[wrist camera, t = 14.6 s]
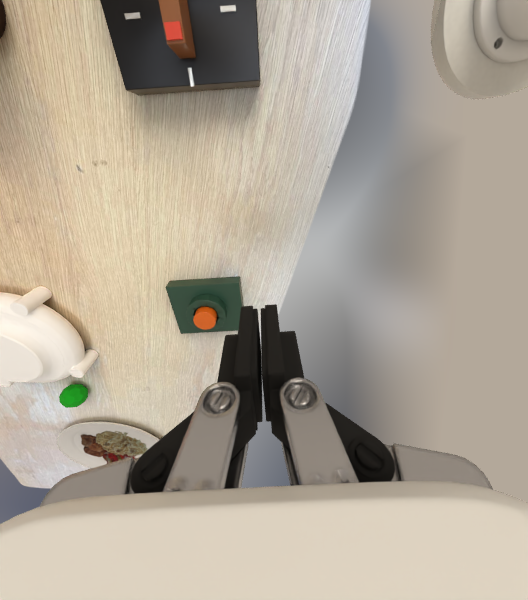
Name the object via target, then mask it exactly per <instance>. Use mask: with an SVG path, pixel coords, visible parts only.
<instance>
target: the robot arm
mask: <svg viewBox="0 0 528 600" xmlns="http://www.w3.org/2000/svg"><path fill="white" fill-rule="evenodd" d="M473 23H474V33H475V36H476V39H477V42H478V45H479V47H480V48H481V50H482V51H483V53H484V54H485V55H486V56H488V57H489V58H490V59H492V60H494V61H497V62H499V63H513V62H518V61H522V60H525V59H528V0H475V1H474V12H473ZM261 351H262V367H261ZM262 380H263V391H264V401H265V412H266V421H271V425H272V433H273V434H274V435H275V436H276V437H277V438H278V439H279V440H280V441H281V443H282V449H283V453H284V458H285V462H286V467H287V471H288V476H289V481H290V485H291V486H277V487H276V486H275V487H254V488H241V485H242V480H243V474H244V468H245V462H246V456H247V450H248V442H249V441H250V439H251V438H252V437H253V436H254V435H255V434H256V430H257V422H262ZM0 600H528V503H527V502H525V501H523V500H520V499H518V498H515V497H513V496H510V495H507V494H505V493H502V492H499V491H496V490H493V489H492V486H491V484H490V482H489V481H488V479H487V478H486V476H485V475H484V473H483V472H482V471H481V470H480V469H479V468H478V467H477V466H476V465H475V464H473V463H472V462H470V461H469V460H467V459H465V458H463V457H460V456H457V455H453V454H448V453H442V452H437V451H431V450H427V449H421V448H416V447H411V446H405V445H399V444H393V446H390V445H385V444H383V443H382V442H381V441H380V440H378V439H377V438H376V437H374V436H373V435H371V434H370V433H368V432H367V431H366V430H364V429H363V428H361V427H360V426H358V425H357V424H355V423H354V422H352V421H351V420H350V419H348V418H347V417H345V416H344V415H342V414H341V413H340V412H338V411H337V410H335V409H334V408H332V407H331V406H329V405H328V404H327V403H325V402H324V399H323V397H322V395H321V393H320V390H319V389H318V387H317V386H316V385H315V384H314V383H313V382H311V381H310V380H308V379H304V375H303V370H302V365H301V360H300V354H299V349H298V344H297V339H296V334H295V331H287V332H280V330H279V322H278V313H277V305H265V308H261V344H260V333H259V322H258V311H257V309H253V306H243V307H241V311H240V321H239V330H238V334H235V335H226V336H225V341H224V346H223V352H222V358H221V364H220V370H219V376H218V381H217V383H215V384H212V385H211V386H209V387H207V388H206V389H205V390H204V391H203V393H202V394H201V396H200V398H199V401H198V403H197V406H196V408H195V411H194V412H193V413H192V414H191V415H190V416H188V417H187V418H186V419H185V420H183V421H182V422H181V423H180V424H179V425H177V426H176V427H175V428H174V429H172V430H171V431H170V432H169V433H168V434H166V435H165V436H164V437H163V438H161V439H160V440H159V441H158V442H156V443H155V444H154V445H153V446H152V447H150V448H149V449H148V450H147V451H146V452H145V453H144V454H143V455H142V456H141V457H139V458H135V459H133V457H129V458H125V459H122V460H119V461H115V462H112V463H108V464H105V465H102V466H98V467H95V468H91V469H88V470H85V471H81V472H78V473H74V474H72V475H69V476H67V477H65V478H63V479H62V480H61V481H59V482H58V483H57V484H55V485H54V486H53V487H52V489H51V490H50V491H49V492H48V493H47V494H46V496H45V498H44V500H43V501H42V503H41V505H40V507H38V508H35V509H33V510H31V511H28V512H25V513H23V514H20V515H18V516H16V517H14V518H12V519H10V520H8V521H6V522H4V523H2V524H0Z"/></svg>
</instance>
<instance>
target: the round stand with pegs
mask: <svg viewBox="0 0 528 600" xmlns="http://www.w3.org/2000/svg"><path fill="white" fill-rule="evenodd" d="M51 297H52V293H51V291H50V290H49V289H48V288H46V287H43V286H38V287H36V288H34V289H33V290H31V291H30V292H28V293H27V294H25V295H24V296H20V295H16V294H11V293H4V292H0V386H3V387H10V386H11V385H12V384H13V383H14V382H31V383H48V382H54V381H58V380H61V379H64V378H66V377H68V376H70V375H72V376H74V377H76V378H81V377H83V376H84V375H85V374H86V372H87V371H88V370H89V368H90V367H91V366H92V364H93V363H94V362H95V360H96V359H97V358H98V356H99V354H98V353H97V352H96V351H95V350H87V351H86V352H85V350H84V344H83V341H82V339H81V337H80V335H79V333H78V332H77V330H76V329H75V328H74V327H73V326H72V324H71V323H70V322H68V321H67V320H66V319H65V318H64V317H63V316H61V315H60V314H59V313H57V312H56V311H54V310H53V309H51V308H49V307H47V306H46V305H44V304H42V303H44V302H45V301H46V300H48V299H49V298H51Z"/></svg>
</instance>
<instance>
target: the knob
mask: <svg viewBox="0 0 528 600" xmlns="http://www.w3.org/2000/svg"><path fill="white" fill-rule="evenodd" d="M159 6H160V11H161V16H162V21H163V26H164V31H165V36H166V41H167V45H168V46H169V47H170V48H171V49H172V50H173V51H174V52H175V53H176V55H177V56H178V57H179V58H180V59H182V58H195V57H196V55H195V48H194V42H193V35H192V29H191V22H190V15H189V9H188V2H187V0H159Z"/></svg>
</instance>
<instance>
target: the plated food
mask: <svg viewBox="0 0 528 600" xmlns="http://www.w3.org/2000/svg"><path fill="white" fill-rule="evenodd" d="M158 441H159V439H158V438H157V437H155V436H153V435H152V434H150V433H148V432H146V431H143V430H141V429H138V428H135V427H132V426H128V425H123V424H118V423H111V422H86V423H80V424H75V425H72V426H70V427H68V428H66V429H64V430H63V431H62V432H61V433H60V434H59V436H58V438H57V445H58V447H59V449H60V451H61V452H62V453H63V454H64V455H65V456H67V457H68V458H69V459H71V460H73V461H74V462H76V463H78V464H81V465H83V466H85V467H88V468H95V467H98V466H102V465H105V464H108V463H112V462H115V461H119V460H122V459H125V458H129V457H133V459H135V458H139V457H141V456H142V455H143V454H144V453H145V452H146V451H147V450H148V449H149V448H150V447H152V446H153V445H154V444H155V443H156V442H158Z"/></svg>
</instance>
